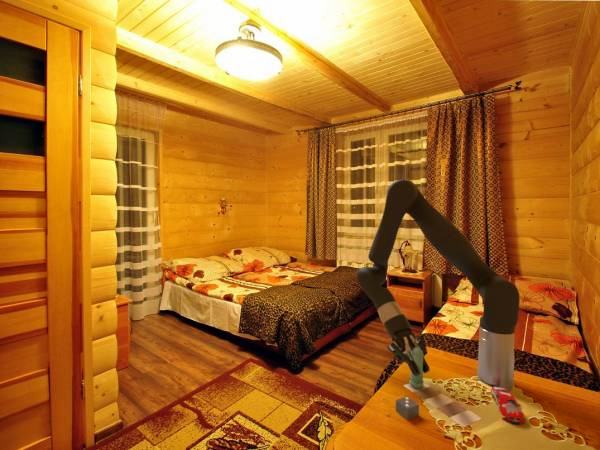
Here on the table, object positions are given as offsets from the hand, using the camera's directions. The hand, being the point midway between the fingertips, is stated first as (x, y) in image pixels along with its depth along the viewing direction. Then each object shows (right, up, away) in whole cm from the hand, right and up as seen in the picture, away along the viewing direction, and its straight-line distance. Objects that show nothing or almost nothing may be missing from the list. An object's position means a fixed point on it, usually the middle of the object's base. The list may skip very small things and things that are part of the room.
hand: (422, 373), depth 90 cm
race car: (+20, -7, -6) cm, 22 cm away
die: (-8, -6, -10) cm, 15 cm away
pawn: (-1, -4, +2) cm, 5 cm away
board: (+3, -6, -5) cm, 9 cm away
